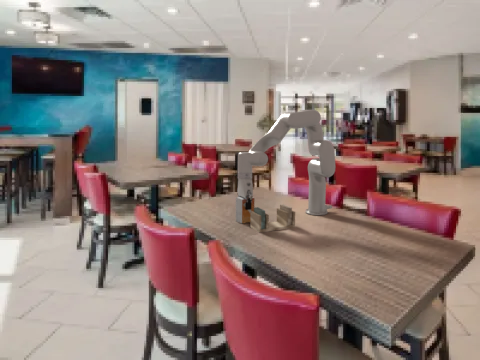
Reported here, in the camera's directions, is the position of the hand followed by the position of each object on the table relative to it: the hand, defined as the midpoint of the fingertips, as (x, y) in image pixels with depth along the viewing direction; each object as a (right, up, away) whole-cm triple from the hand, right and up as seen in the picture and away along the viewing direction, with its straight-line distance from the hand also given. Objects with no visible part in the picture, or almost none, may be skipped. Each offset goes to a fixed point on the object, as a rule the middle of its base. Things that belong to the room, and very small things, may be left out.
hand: (244, 207), depth 202 cm
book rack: (+14, -9, -10) cm, 20 cm away
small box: (0, -8, +1) cm, 8 cm away
